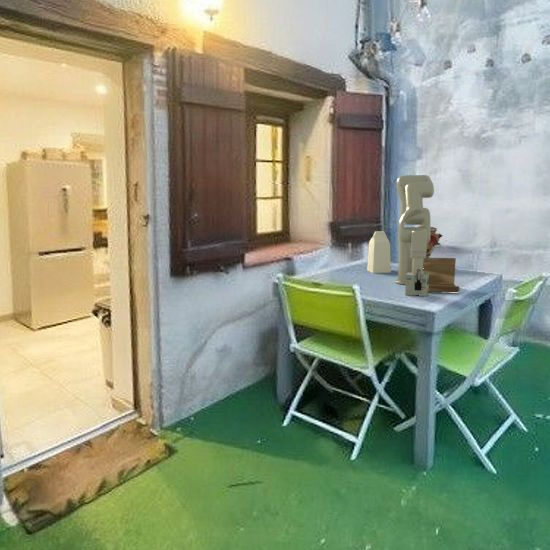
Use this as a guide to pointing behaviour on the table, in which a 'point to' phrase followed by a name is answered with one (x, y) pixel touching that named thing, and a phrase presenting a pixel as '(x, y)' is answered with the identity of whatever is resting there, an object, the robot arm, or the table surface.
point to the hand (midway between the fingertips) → (416, 288)
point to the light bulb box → (411, 285)
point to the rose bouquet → (432, 241)
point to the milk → (379, 254)
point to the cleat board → (440, 274)
